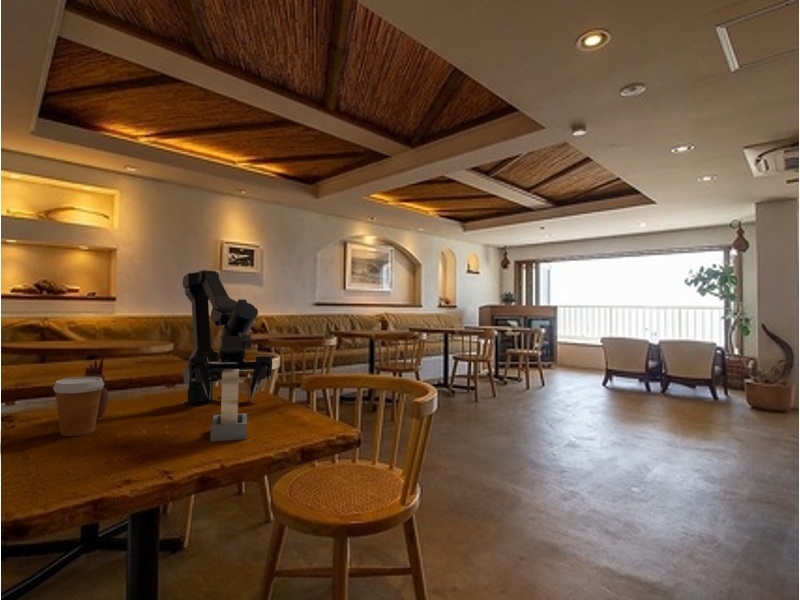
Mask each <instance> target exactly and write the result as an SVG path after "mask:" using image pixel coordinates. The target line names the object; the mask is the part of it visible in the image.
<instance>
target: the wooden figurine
mask: <svg viewBox="0 0 800 600" xmlns="http://www.w3.org/2000/svg"><path fill="white" fill-rule="evenodd" d="M89 365H90V366H87V367H86V369H85V373H84V375H83V376H82V377H100V378H102V380H103V383H104V384H105V381H106V380H105V379H106V378H105V375H104V358H101V360H100V362H99V365H98V361H97V360H96V359H95V360H94V364H89ZM109 398H110V395H109V391H108V390H107V388H106V387H104V386H103V388H102V391H101V397H100V402H99V408H98V414H97V418H98V417H101V416H103V415H104V414H105V412H106V411H107V409H108V404H109V401H110V399H109Z"/></svg>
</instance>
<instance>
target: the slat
mask: <svg viewBox="0 0 800 600" xmlns="http://www.w3.org/2000/svg"><path fill="white" fill-rule="evenodd" d="M221 374H222V375H221V396H222V397H221V399H220V400H221V401H220V402H221V403H220V409H221V410H220V415H221V424H230V423H237V421H238V414H239V392H238V388H239V381H240V371H239V369H226V370H223V371H222V373H221Z"/></svg>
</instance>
